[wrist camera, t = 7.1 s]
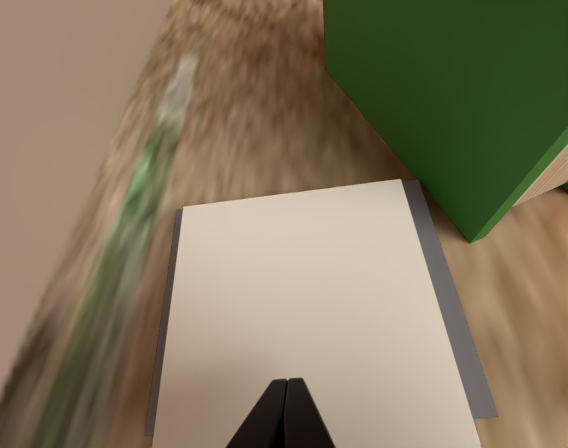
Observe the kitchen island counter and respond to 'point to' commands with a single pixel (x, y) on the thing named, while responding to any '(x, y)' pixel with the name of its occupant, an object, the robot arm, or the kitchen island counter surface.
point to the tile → (310, 321)
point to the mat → (444, 292)
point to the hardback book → (461, 95)
